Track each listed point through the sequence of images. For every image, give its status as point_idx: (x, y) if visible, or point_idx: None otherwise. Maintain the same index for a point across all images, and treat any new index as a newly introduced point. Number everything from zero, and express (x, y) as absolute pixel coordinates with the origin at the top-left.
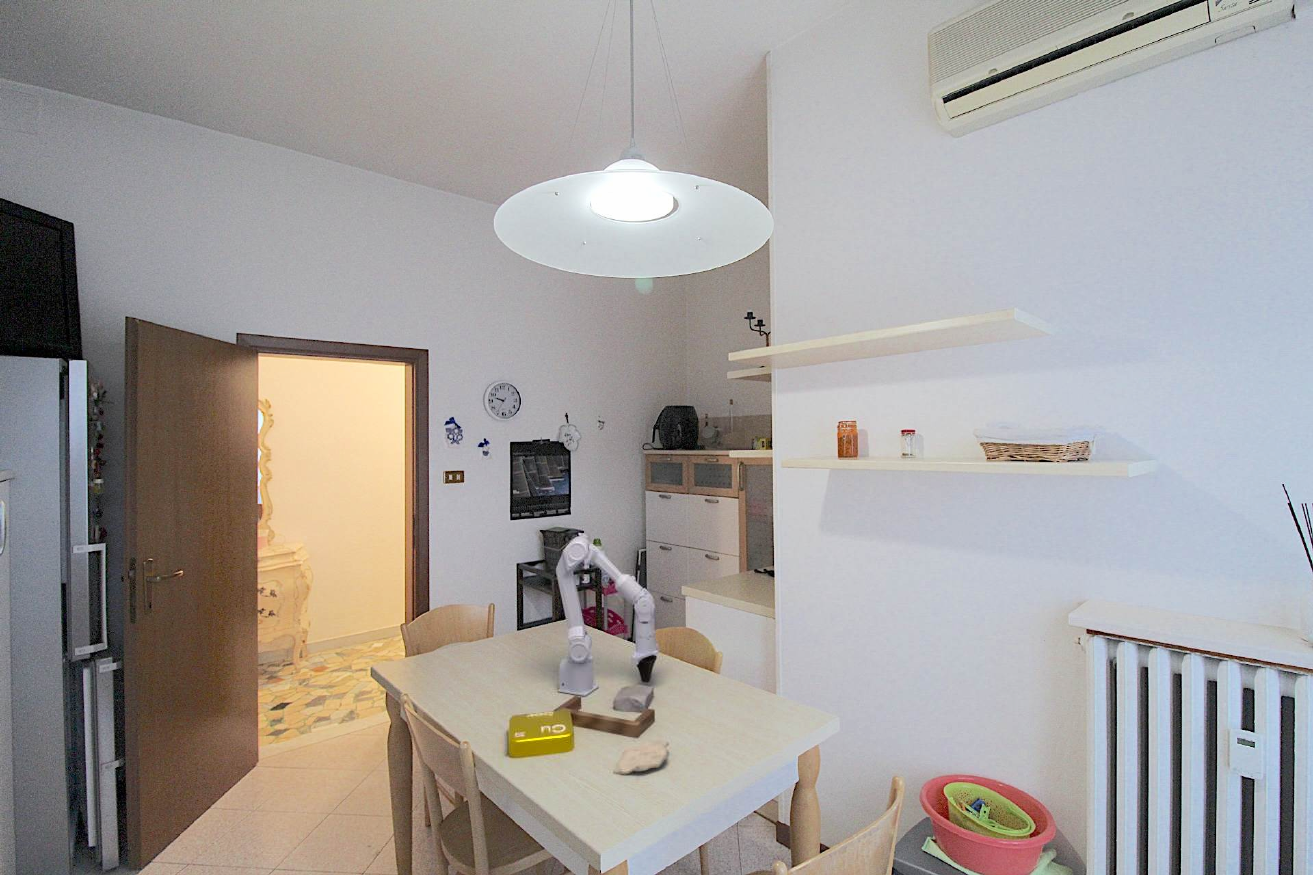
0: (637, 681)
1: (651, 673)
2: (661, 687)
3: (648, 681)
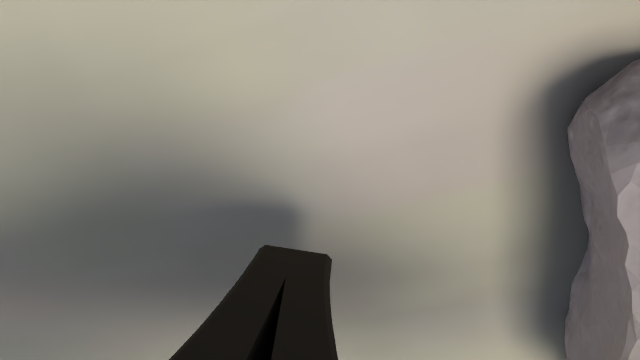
0: (168, 329)
1: (215, 315)
2: (207, 46)
3: (318, 260)
